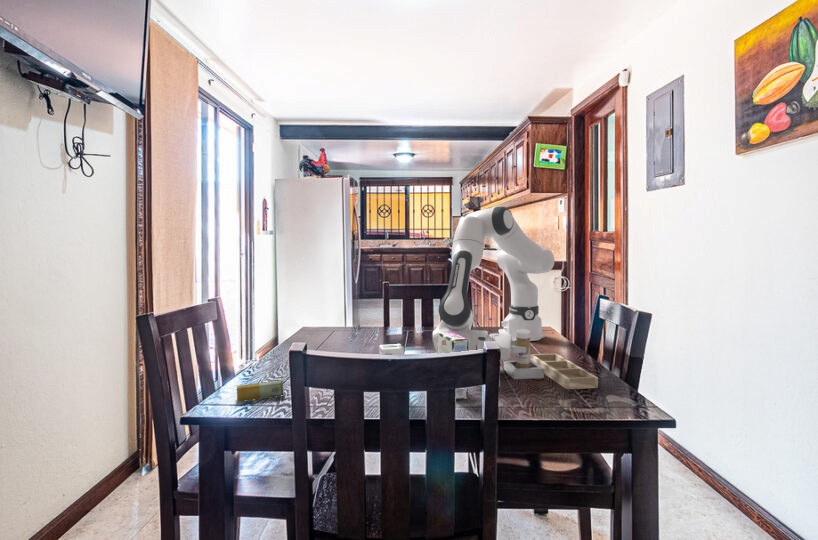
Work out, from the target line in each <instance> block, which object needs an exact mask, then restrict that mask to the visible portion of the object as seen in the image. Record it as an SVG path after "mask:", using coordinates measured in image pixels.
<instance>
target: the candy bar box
mask: <svg viewBox="0 0 818 540" xmlns="http://www.w3.org/2000/svg"><path fill="white" fill-rule="evenodd" d="M437 340H438V342H437V352H436V353H437V354H439V353H450V352H461V351H468V340H469V339H467V338H465V337H463V336H460V335H458V334H456V333H454V332H438V333H437ZM437 354H436V355H437ZM468 394H469V387H468V388H464V389H456V400H455V401H461V400H468V398H469V395H468Z"/></svg>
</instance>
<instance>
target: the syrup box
mask: <svg viewBox="0 0 818 540" xmlns="http://www.w3.org/2000/svg"><path fill="white" fill-rule="evenodd" d="M404 351H405V350H404V347H403V345H402V344H401V343H396V344H395V343H393V344H391V343H390V344H380V345H379V349H378V352H379V355H405V354H404Z"/></svg>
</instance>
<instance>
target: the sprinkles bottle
mask: <svg viewBox="0 0 818 540" xmlns="http://www.w3.org/2000/svg"><path fill="white" fill-rule="evenodd" d="M530 337H531V332H530V331H529V330H525V329H520V330H517V331H516V346H526V352H525V353H521V352H520V353H515V361H516V368H530V354H531V341H530Z"/></svg>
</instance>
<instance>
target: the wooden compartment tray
mask: <svg viewBox="0 0 818 540" xmlns="http://www.w3.org/2000/svg"><path fill="white" fill-rule="evenodd" d="M530 360H533V361H534V362H536V363H537V364H538V365H540V366H541V367H543V368H544V375H545V376H547V377H549V378H550V379H551V380H553V381H554V382H555V383H557V384H558V385H559V386H561V387H563V388H564V389H566V390H583V389H598V388H599V377H598V376H596V375H594V374H593V373H591V372H589V371H588V370H587V369H586V370H585V369H584V368H582V367H580V366H579V365H577V364H575V363H574V362H572V361H571V360H568V359H567V358H565V357H563V356H561V355H560V354H558V353H535V354H531V353H530Z"/></svg>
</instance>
